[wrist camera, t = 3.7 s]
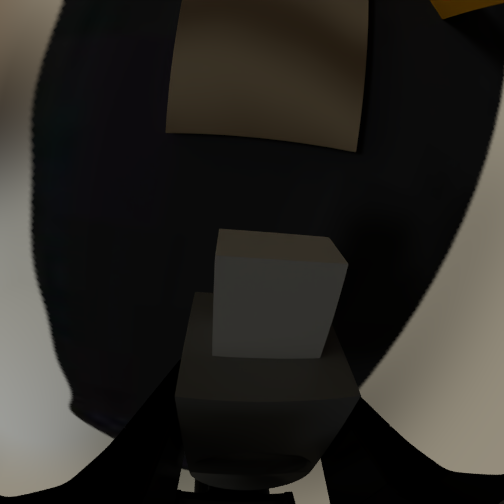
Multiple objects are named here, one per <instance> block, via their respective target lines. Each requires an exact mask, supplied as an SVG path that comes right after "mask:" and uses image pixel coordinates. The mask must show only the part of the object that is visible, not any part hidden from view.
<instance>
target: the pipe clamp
mask: <svg viewBox="0 0 504 504" xmlns="http://www.w3.org/2000/svg"><path fill="white" fill-rule="evenodd" d="M430 1H431V3H432V4H433V5H434V7H435V9H436V10H437V12H438V13H439V15H440V16H441V18H442V19H446V18H449V17H452V16H456V15H459V14H463V13H467V12H470V11H474V10H478V9H481V8H485V7H490V6H494V5H498V4H503V3H504V0H430Z"/></svg>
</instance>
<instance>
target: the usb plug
mask: <svg viewBox="0 0 504 504" xmlns="http://www.w3.org/2000/svg"><path fill="white" fill-rule="evenodd" d="M347 268H348V263H347V261H346V260H345V259H344V257H343V256H342V255H341V253H340V252H339V250H338V249H337V248H336V246H335V245H334V244H333V242H332V241H331V240H330V238H329V237H318V236H306V235H295V234H282V233H270V232H257V231H243V230H229V229H219V235H218V241H217V248H216V254H215V273H214V293H202V292H195V295H194V299H193V304H192V309H191V313H190V318H189V323H188V328H187V333H186V338H185V343H184V348H183V353H182V358H181V364H180V369H179V374H178V380H177V386H176V391H175V402H176V408H177V414H178V419H179V425H180V430H181V435H182V440H183V445H184V450H185V454H186V459H187V463H188V468H189V472H190V474H191V475H192V477H194V478H195V479H196V480H198V481H200V482H202V483H204V484H207V485H210V486H214V487H218V488H223V489H231V490H261V489H269V488H275V487H279V486H283V485H287V484H290V483H293V482H295V481H297V480H299V479H301V478H303V477H305V476H306V475H307V474H309V472H310V471H311V470H312V469H313V468H314V466H315V465H316V464H317V462H318V461H319V459H320V458H321V457H322V455H323V454H324V453H325V451H326V450H327V448H328V447H329V446H330V444H331V443H332V441H333V440H334V438H335V437H336V435H337V434H338V432H339V431H340V429H341V428H342V426H343V425H344V423H345V421H346V420H347V418H348V417H349V415H350V413H351V412H352V410H353V409H354V407H355V405H356V404H357V402H358V400H359V398H360V397H361V395H360V392H359V389H358V387H357V384H356V382H355V379H354V377H353V374H352V372H351V369H350V367H349V364H348V362H347V359H346V357H345V354H344V352H343V349H342V347H341V344H340V342H339V340H338V337H337V335H336V332H335V330H334V328H333V325H332V320H333V317H334V314H335V310H336V307H337V304H338V300H339V297H340V293H341V290H342V286H343V283H344V279H345V275H346V272H347Z"/></svg>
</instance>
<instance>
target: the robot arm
mask: <svg viewBox="0 0 504 504" xmlns="http://www.w3.org/2000/svg"><path fill="white" fill-rule="evenodd" d="M180 364H181V359H180V360H179V361H178V362H177V364H176V365H175V366H174V367H173V369H172V370H171V371H170V372H169V374H168V375H167V376H166V377H165V378H164V380H163V381H162V382H161V383H160V385H159V386H158V387H157V388H156V390H155V391H154V392H153V393H152V394H151V396H150V397H149V398H148V399H147V401H146V402H145V403H144V404H143V405H142V407H141V408H140V409H139V410H138V412H137V413H136V414H135V415H134V416H133V418H132V419H131V420H130V421H129V423H128V424H127V425H126V426H125V428H126V429H125V428H123V430H122V431H121V432H120V433H119V435H118V436H117V437H116V438H115V439H114V440H113V441H112V442H111V444H110V445H109V446H108V447H107V448H106V449H105V450H104V451H103V452H102V453H101V454H100V455H99V456H97V457H96V458H95V459H94V460H93V461H92V462H91V463H90V464H88V465H87V466H86V467H85V468H84V469H83V470H82V471H80V472H79V473H78V474H77V475H76V476H75V477H73V478H72V479H71V480H70V481H68V482H66V483H64V484H62V485H60V486H57V487H54V488H50V489H46V490H42V491H39V492H34V493H30V494H25V495H21V496H15V497H4V496H0V504H295V501H294V496H293V493H292V492H285V493H281V494H269V489H261V490H231V489H223V488H218V487H214V486H210V485H207V484H204V483H202V482H200V481H198V480H196V479H195V491H194V492H185V491H181V490H177V488H178V483H179V477H180V472H181V467H182V462H183V457H184V452H185V450H184V445H183V440H182V435H181V430H180V425H179V419H178V414H177V408H176V402H175V391H176V386H177V380H178V374H179V369H180ZM321 462H322V467H323V471H324V476H325V481H326V485H327V490H328V495H329V500H330V504H504V474H502V475H485V474H471V473H459V472H453V471H450V470H447V469H445V468H443V467H441V466H439V465H438V464H437V463H436V462H434V461H433V460H431V459H430V458H428V457H427V456H426V455H425V454H423V453H422V452H420V451H419V450H418V449H416V448H415V447H414V446H413V445H411V444H410V443H409V442H408V441H407V440H405V439H404V438H403V437H402V436H401V435H400V434H399V433H398V432H397V431H395V429H393V428H392V427H390V425H389V424H388V423H387V422H386V421H385V420H384V419H383V418H382V417H381V416H380V415H379V414H378V413H377V412H376V411H375V410H374V409H373V408H372V407H371V406H370V405H369V404H368V403H367V402H366V401H365V400H364V399H362V398H361V397H360V398H359V400H358V402H357V404H356V405H355V407H354V409H353V410H352V412H351V413H350V415H349V417H348V418H347V420H346V421H345V423H344V425H343V426H342V428H341V429H340V431H339V432H338V434H337V435H336V437H335V438H334V440H333V441H332V443H331V444H330V446H329V447H328V448H327V450H326V451H325V453H324V454H323V455H322V457H321Z"/></svg>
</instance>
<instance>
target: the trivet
mask: <svg viewBox="0 0 504 504" xmlns="http://www.w3.org/2000/svg"><path fill="white" fill-rule="evenodd" d="M367 38H368V0H182V4H181V9H180V15H179V20H178V26H177V33H176V39H175V46H174V53H173V61H172V69H171V77H170V87H169V97H168V108H167V121H166V133H196V134H217V135H232V136H245V137H256V138H265V139H274V140H283V141H291V142H298V143H305V144H312V145H318V146H324V147H330V148H336V149H341V150H347V151H352V152H356V148H357V141H358V134H359V127H360V119H361V111H362V102H363V92H364V82H365V70H366V56H367Z"/></svg>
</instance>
